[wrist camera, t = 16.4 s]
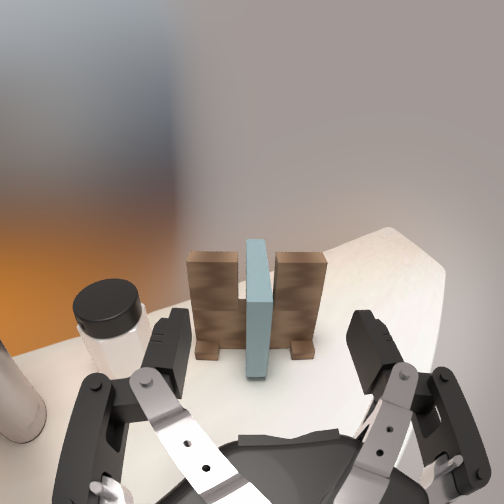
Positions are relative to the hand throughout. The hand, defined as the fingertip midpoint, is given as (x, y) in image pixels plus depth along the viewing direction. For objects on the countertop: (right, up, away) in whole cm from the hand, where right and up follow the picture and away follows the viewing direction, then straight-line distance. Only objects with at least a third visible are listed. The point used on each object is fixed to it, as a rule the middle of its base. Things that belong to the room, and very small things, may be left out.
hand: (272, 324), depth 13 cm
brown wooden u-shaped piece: (-1, -10, +26) cm, 27 cm away
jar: (-17, -12, +20) cm, 29 cm away
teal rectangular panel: (-1, -9, +25) cm, 26 cm away
